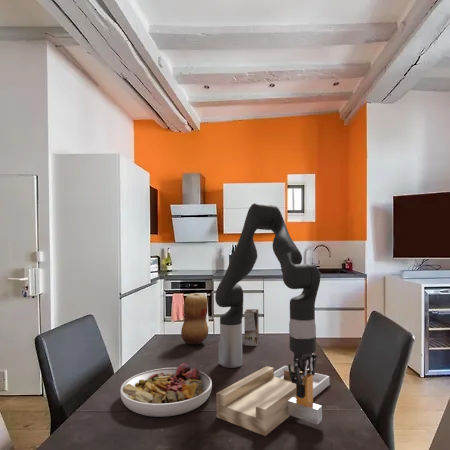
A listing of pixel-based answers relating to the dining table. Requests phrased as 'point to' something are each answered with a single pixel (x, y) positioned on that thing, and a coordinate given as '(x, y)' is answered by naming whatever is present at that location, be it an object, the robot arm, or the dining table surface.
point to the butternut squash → (195, 319)
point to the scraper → (306, 404)
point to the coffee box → (251, 327)
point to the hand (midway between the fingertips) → (303, 394)
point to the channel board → (256, 401)
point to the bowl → (166, 391)
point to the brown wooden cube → (287, 375)
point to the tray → (318, 380)
